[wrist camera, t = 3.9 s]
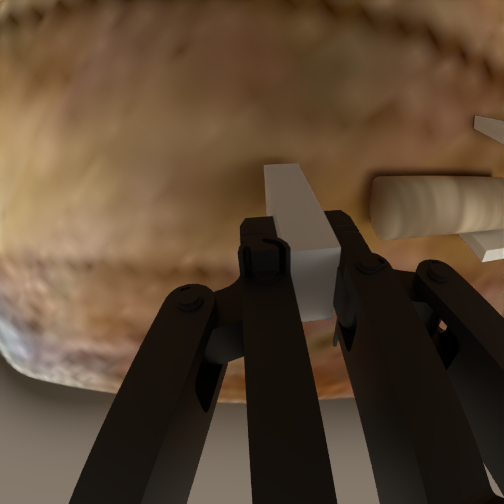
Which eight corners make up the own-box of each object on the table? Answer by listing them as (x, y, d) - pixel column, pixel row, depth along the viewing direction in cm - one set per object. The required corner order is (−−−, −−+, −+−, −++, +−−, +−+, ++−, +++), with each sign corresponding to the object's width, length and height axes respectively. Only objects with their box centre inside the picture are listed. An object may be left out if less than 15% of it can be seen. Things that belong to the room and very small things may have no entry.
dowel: (365, 188, 17) (374, 245, 16) (385, 166, 14) (398, 233, 13) (481, 186, 17) (491, 233, 16) (509, 170, 13) (522, 222, 13)
